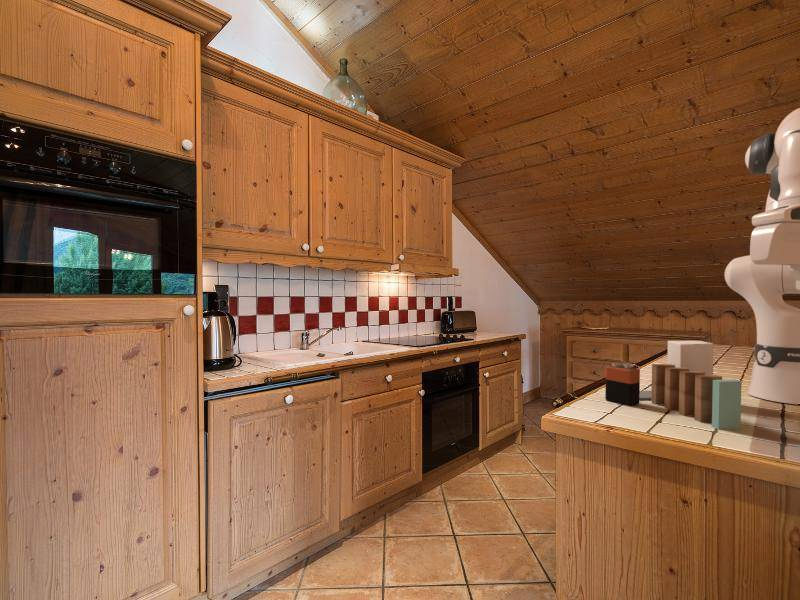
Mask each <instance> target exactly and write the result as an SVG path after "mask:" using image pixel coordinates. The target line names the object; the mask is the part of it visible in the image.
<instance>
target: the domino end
mask: <svg viewBox="0 0 800 600" xmlns="http://www.w3.org/2000/svg"><path fill="white" fill-rule="evenodd" d="M741 416H742V380H738V379H722V380H713V396H712V422H711V428H714V429H717V430H740V429H741V428H742V427H741V423H742V422H741V421H742V417H741Z"/></svg>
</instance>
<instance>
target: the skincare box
mask: <svg viewBox="0 0 800 600" xmlns="http://www.w3.org/2000/svg"><path fill="white" fill-rule="evenodd" d="M714 346H715V343H713V342H708V341H703V340H667V364H672V365H675V367H685V368H689V371H701V372H705V375H714Z"/></svg>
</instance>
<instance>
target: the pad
mask: <svg viewBox="0 0 800 600" xmlns="http://www.w3.org/2000/svg"><path fill="white" fill-rule="evenodd" d="M651 397H652V390H640V395H639V401H650V400H649V399H651Z"/></svg>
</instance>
